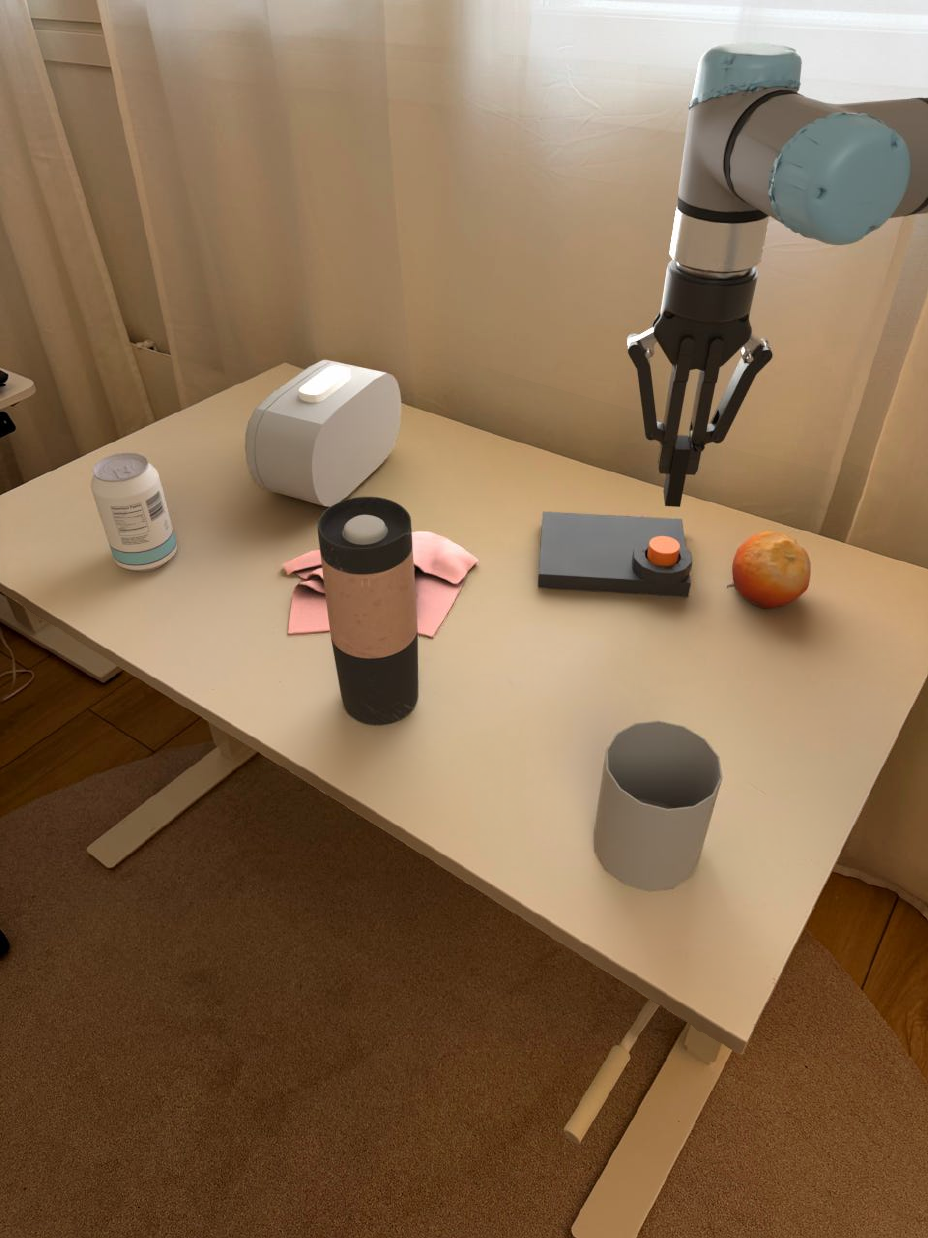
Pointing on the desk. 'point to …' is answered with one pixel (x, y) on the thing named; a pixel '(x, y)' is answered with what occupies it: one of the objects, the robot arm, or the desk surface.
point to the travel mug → (371, 606)
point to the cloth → (434, 584)
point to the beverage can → (133, 511)
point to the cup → (655, 804)
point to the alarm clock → (323, 432)
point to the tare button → (663, 551)
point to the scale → (610, 554)
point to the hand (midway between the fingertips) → (671, 498)
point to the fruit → (771, 570)
